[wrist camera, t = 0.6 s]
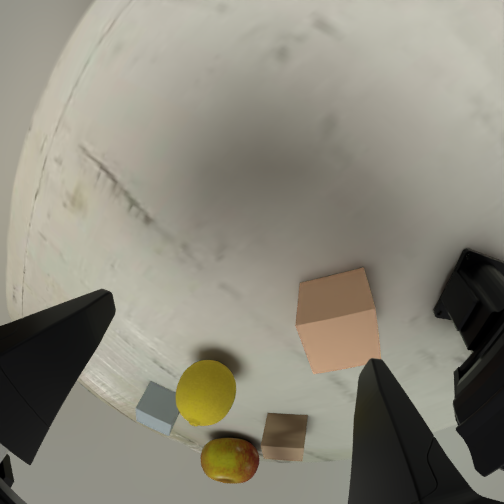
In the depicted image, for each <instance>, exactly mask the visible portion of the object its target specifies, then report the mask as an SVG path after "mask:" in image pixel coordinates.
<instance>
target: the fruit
mask: <svg viewBox="0 0 504 504" xmlns="http://www.w3.org/2000/svg"><path fill="white" fill-rule="evenodd" d="M258 465H259V455H258V452H257V449H256V448H255V447H254V446H253V445H252V444H251V443H250V442H248V441H246V440H243V439H238V438H220V439H214V440H212V441H210V442H208V443H207V444H206V445H205V446H204V448H203V450H202V453H201V466H202V468H203V470H204V472H205V473H206V475H207V476H208V477H210V478H211V479H213V480H216V481H220V482H223V483H243V482H246V481H248V480H249V479H251V478H252V477H253V475H254V474H255V473H256V471H257V468H258Z"/></svg>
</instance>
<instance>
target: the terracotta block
mask: <svg viewBox="0 0 504 504" xmlns="http://www.w3.org/2000/svg"><path fill="white" fill-rule="evenodd" d="M295 326H296V328H297V331H298V334H299V336H300V339H301V342H302V344H303V347H304V350H305V352H306V355H307V358H308V360H309V363H310V366H311V369H312V371H313V374H317V373H324V372H330V371H336V370H341V369H347V368H352V367H357V366H361V365H366V364H367V362H368V360H369V359H371V358H376V359H381V353H380V343H379V333H378V325H377V317H376V309H375V305H374V301H373V298H372V294H371V291H370V287H369V284H368V280H367V277H366V274H365V270H364V267H363V268H359V269H355V270H351V271H347V272H343V273H339V274H335V275H331V276H327V277H323V278H319V279H314V280H310V281H306V282H301V283H300V286H299V297H298V307H297V316H296V325H295Z"/></svg>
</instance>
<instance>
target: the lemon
mask: <svg viewBox="0 0 504 504" xmlns="http://www.w3.org/2000/svg"><path fill="white" fill-rule="evenodd" d="M235 395H236V382H235V379H234V376H233V374H232V373H231V371H230V370H229V369H228V368H227V367H226V366H225V365H223V364H221V363H220V362H219V361H213V360H202V361H199V362H196V363H194V364H192V365H191V366H190V367H188V368H187V369H186V370H185V372H184V373H183V375H182V376H181V378H180V380H179V383H178V386H177V389H176V405H177V408H178V410H179V412H180V414H181V415H182V416H183V417H184V418H185V419H186V420H187V421H189V423H190V425H192V426H198V425H200V426H207V425H212V424H215V423H217V422H219V421H220V420H222V419H223V418H224V417H225V416H226V415H227V413H228V412H229V410H230V408H231V406H232V404H233V402H234V399H235Z"/></svg>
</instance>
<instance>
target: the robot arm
mask: <svg viewBox="0 0 504 504" xmlns="http://www.w3.org/2000/svg"><path fill="white" fill-rule="evenodd" d="M468 254H469V255H468ZM467 255H468V257H466V256H467ZM115 311H116V309H115V304H114V299H113V295H112V293H111V292H110V291H107V290H105V289H100V290H97V291H94V292H91V293H88V294H86V295H83V296H80V297H78V298H75V299H72V300H69V301H67V302H64V303H61V304H58V305H56V306H53V307H50V308H48V309H45V310H42V311H40V312H37V313H34V314H32V315H29V316H26V317H24V318H23V319H22V318H21V319H18V320H16V321H13V322H11V323H8V324H5V325H2V326H0V504H26V503H25V502H24V501H23V500H22V499H21V498H20V497H19V496H18V495H17V494H16V493H15V492H14V491H13V490H12V489H11V486H12V484H13V482H14V478H13V473H12V468H11V463H10V457H9V455H8V454H7V452H8V451H10V452H12V453H13V454H14V455H16V456H17V457H19V458H20V459H21V460H23V461H24V462H26V463H27V464H29V465H31V463H32V462H33V459H34V457H35V455H36V453H37V451H38V449H39V447H40V445H41V443H42V441H43V439H44V437H45V436H46V434H47V432H48V430H49V427H50V426H51V424H52V422H53V420H54V418H55V417H56V415H57V413H58V411H59V409H60V408H61V406H62V404H63V402H64V401H65V399H66V397H67V396H68V394H69V392H70V391H71V388H72V387H73V386H74V384H75V382H76V381H77V379H78V377H79V376H80V374H81V372H82V371H83V369H84V368H85V366H86V364H87V363H88V361H89V360H90V358H91V357H92V355H93V354H94V352H95V350H96V349H97V347H98V345H99V344H100V342H101V340H102V338H103V336H104V334H105V332H106V330H107V328H108V327H109V325H110V323H111V321H112V319H113V317H114V315H115ZM439 311H440V312H439ZM433 312H434V315H435V317H437V318H442V319H448V320H452V321H453V323H454V325H455V327H456V329H457V331H459V332H460V334H461V336H462V338H463V341H464V343H465V345H466V347H467V349H468V350H471V352H472V354H471V355H470V356H469V357H468V358H467V360H466V361H465V362H464V363H463V364H462V365H461V366H460V367H458V368H457V369H456V370H455V371H454V390H455V399H454V400H453V407H454V412H455V418H456V421H457V424H458V426H457V427H456V431H457V432H458V433H459V435H461V437H462V438H463V439H464V441H465V443H466V444H467V446H468V448H469V450H470V453H471V456H472V460H473V464H474V467H475V469H476V471H477V472H479V473H480V474H481V475H482V476H484V477H486V476H488V475H489V474H491V473H493V472H494V471H496V470H498V469H501V470H503V471H504V262H503V261H500V260H498V259H495V258H492V257H490V256H487V255H484V254H482V253H479V252H476V251H474V250H471V249H465V250H464V251H463V253H462V255H461V257H460V259H459V262H458V264H457V266H456V268H455V270H454V272H453V274H452V276H451V279H450V281H449V283H448V285H447V286H446V288H445V290H444V292H443V294H442V296H441V298H440V300H439V302H438V303H437V305H436V307H435V309H434V311H433ZM348 504H504V502H500V501H496V500H492V499H489V498H486V497H482V496H481V495H479V494H477V493H476V492H475V491H473V489H472V488H471V487H470V486H469V485H468V483H467V482H466V481H465V479H464V478H463V477H462V475H461V474H460V473H459V471H458V470H457V469H456V468H455V466H454V465H453V463H452V462H451V461H450V459H449V458H448V457H447V456H446V454H445V452H444V451H443V449H442V448H441V446H440V445H439V443H438V441H437V440H436V438H435V437H434V436H433V434H432V432H431V430H430V429H429V427H428V426H427V424H426V423H425V421H424V420H423V418H422V417H421V415H420V414H419V412H418V411H417V409H416V408H415V406H414V405H413V403H412V402H411V400H410V399H409V397H408V396H407V394H406V393H405V391H404V390H403V388H402V387H401V385H400V384H399V383H398V381H397V380H396V378H395V377H394V375H393V374H392V372H391V371H390V370H389V368H388V367H387V365H386V364H385V363H384V361H383V360H382V359H376V358H371V359H369V360H368V362H367V364H366V365H365V367H364V368H363V370H362V372H361V373H360V376H359V380H358V389H357V398H356V406H355V414H354V429H353V452H352V468H351V479H350V489H349V498H348Z"/></svg>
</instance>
